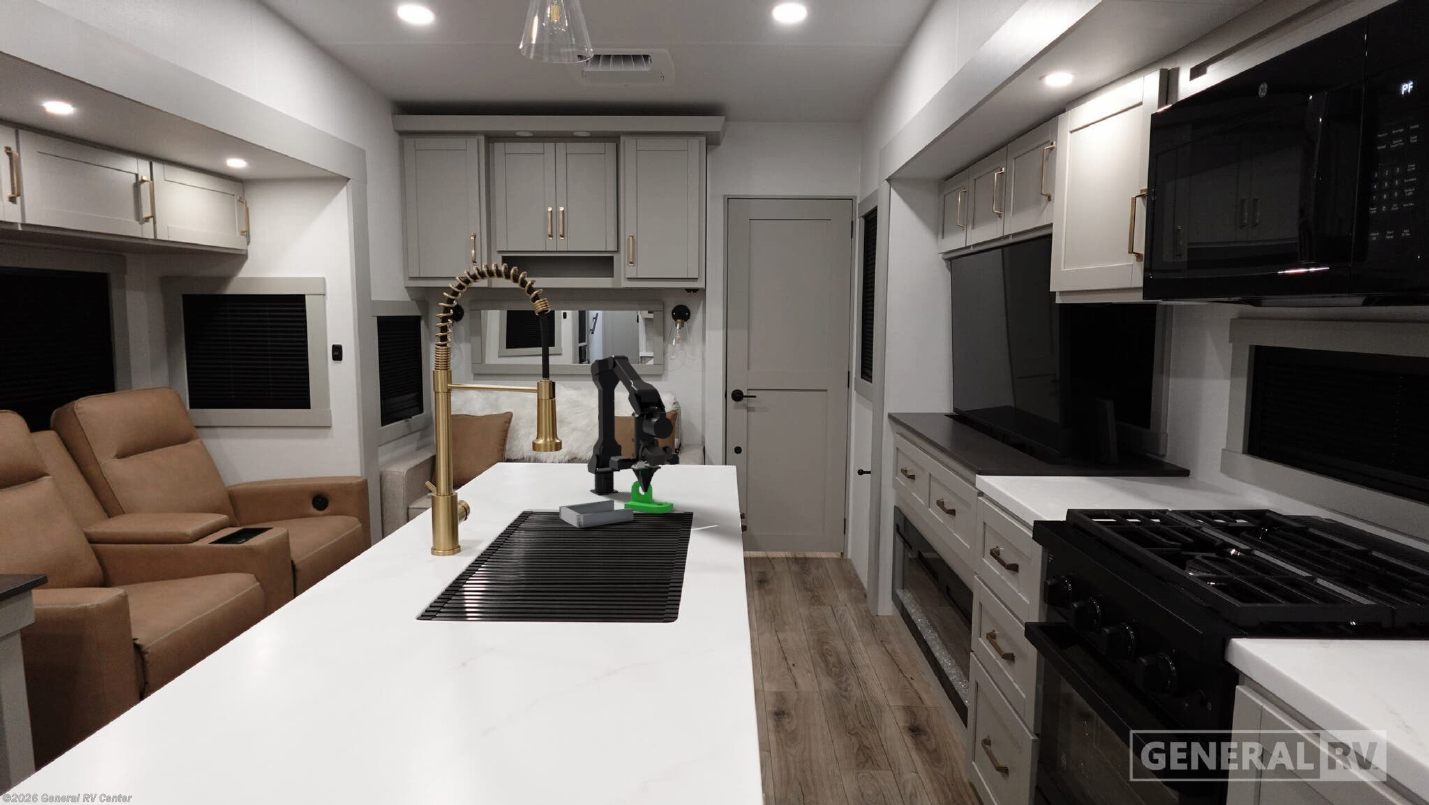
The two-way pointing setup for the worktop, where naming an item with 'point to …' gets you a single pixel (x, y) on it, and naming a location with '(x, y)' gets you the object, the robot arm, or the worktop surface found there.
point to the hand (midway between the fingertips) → (644, 492)
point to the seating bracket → (594, 514)
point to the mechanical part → (646, 501)
